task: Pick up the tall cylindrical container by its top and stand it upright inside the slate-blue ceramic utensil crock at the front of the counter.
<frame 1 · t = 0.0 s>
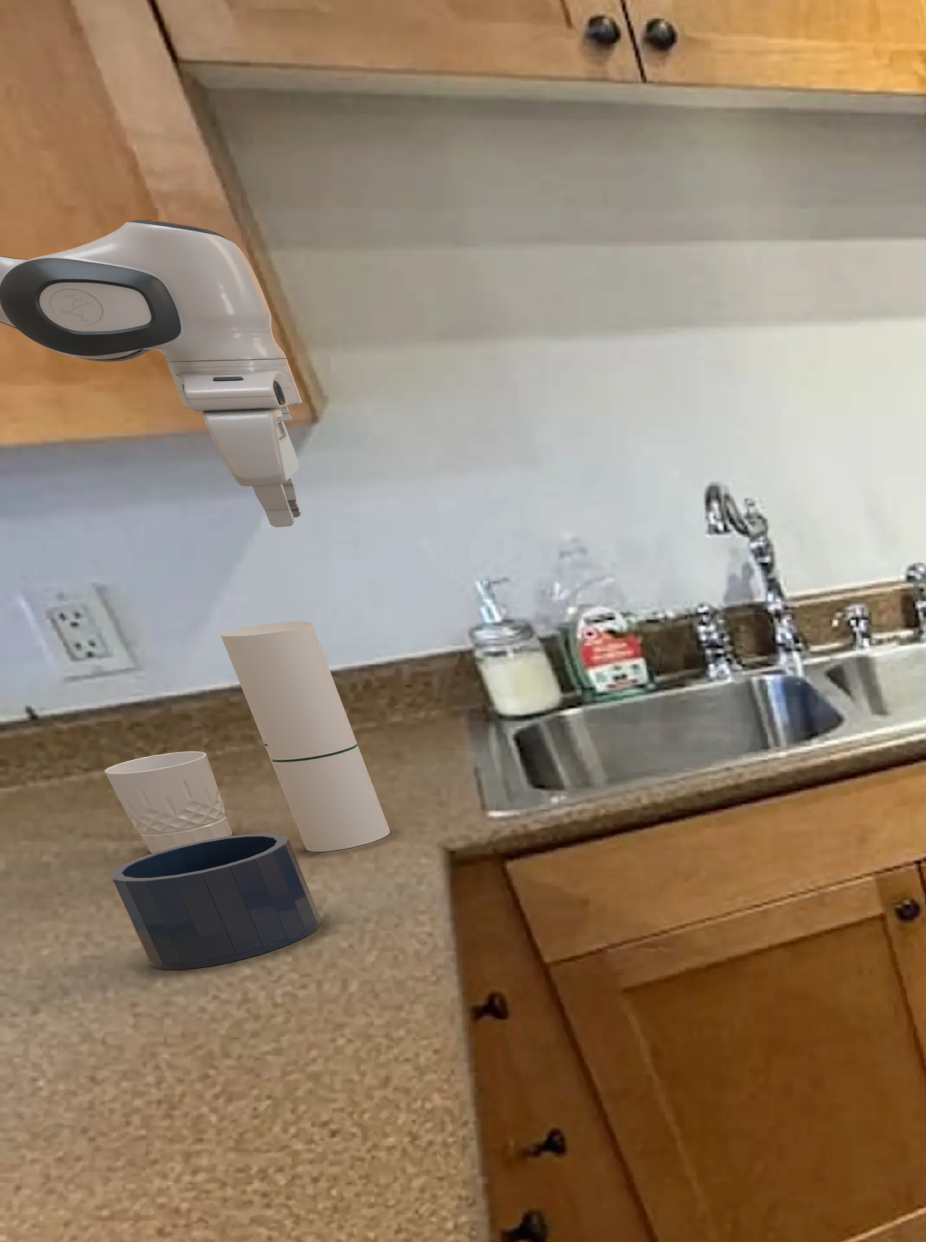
hand: (287, 521, 142), 36 cm above the counter, tool pointing down, fingers open, 8 cm apart
crock: (238, 941, 127), on the counter
white cup: (191, 845, 152), on the counter
cylindrical container: (349, 841, 152), on the counter
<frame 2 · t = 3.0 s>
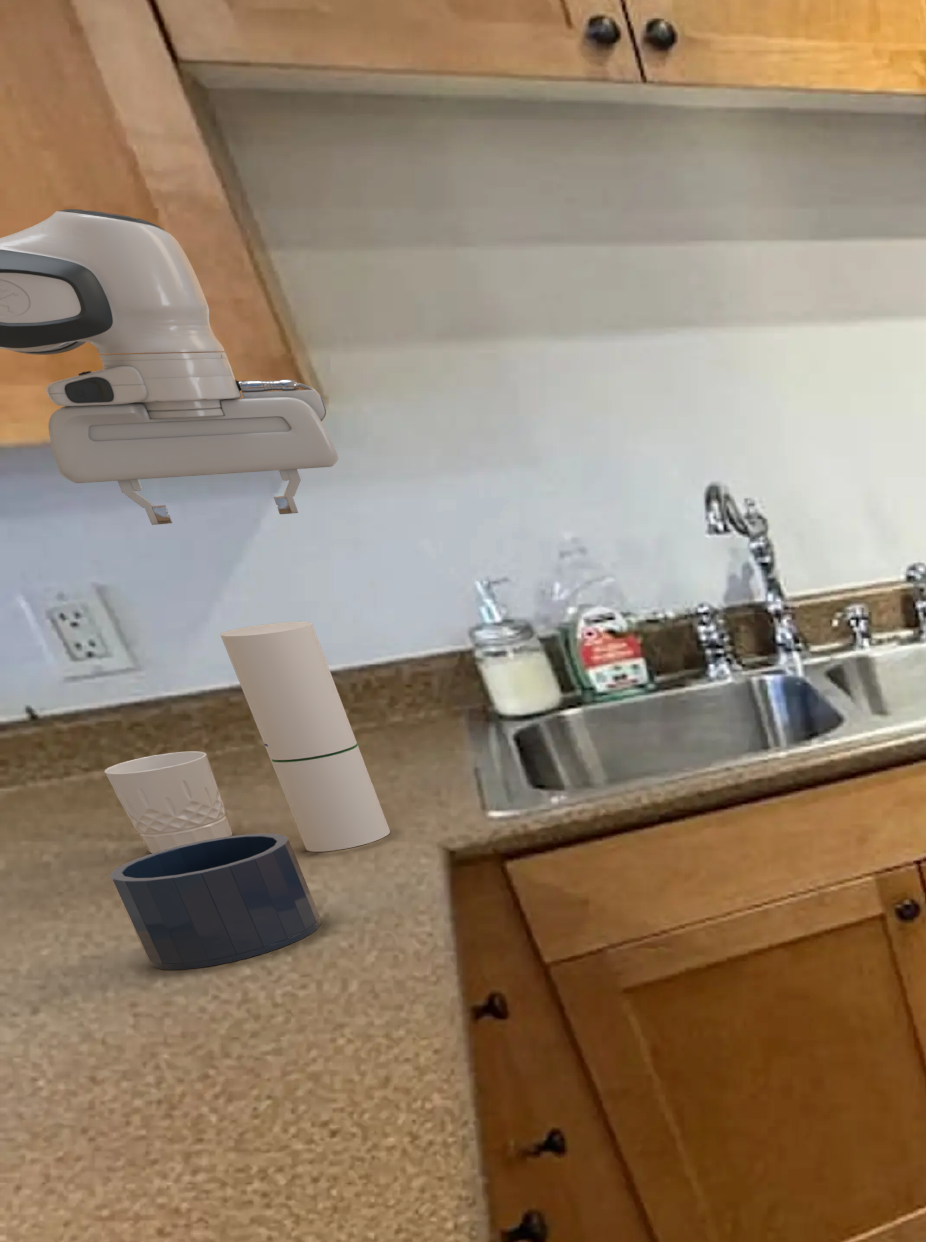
hand: (227, 518, 139), 37 cm above the counter, tool pointing down, fingers open, 8 cm apart
nothing on the counter moved.
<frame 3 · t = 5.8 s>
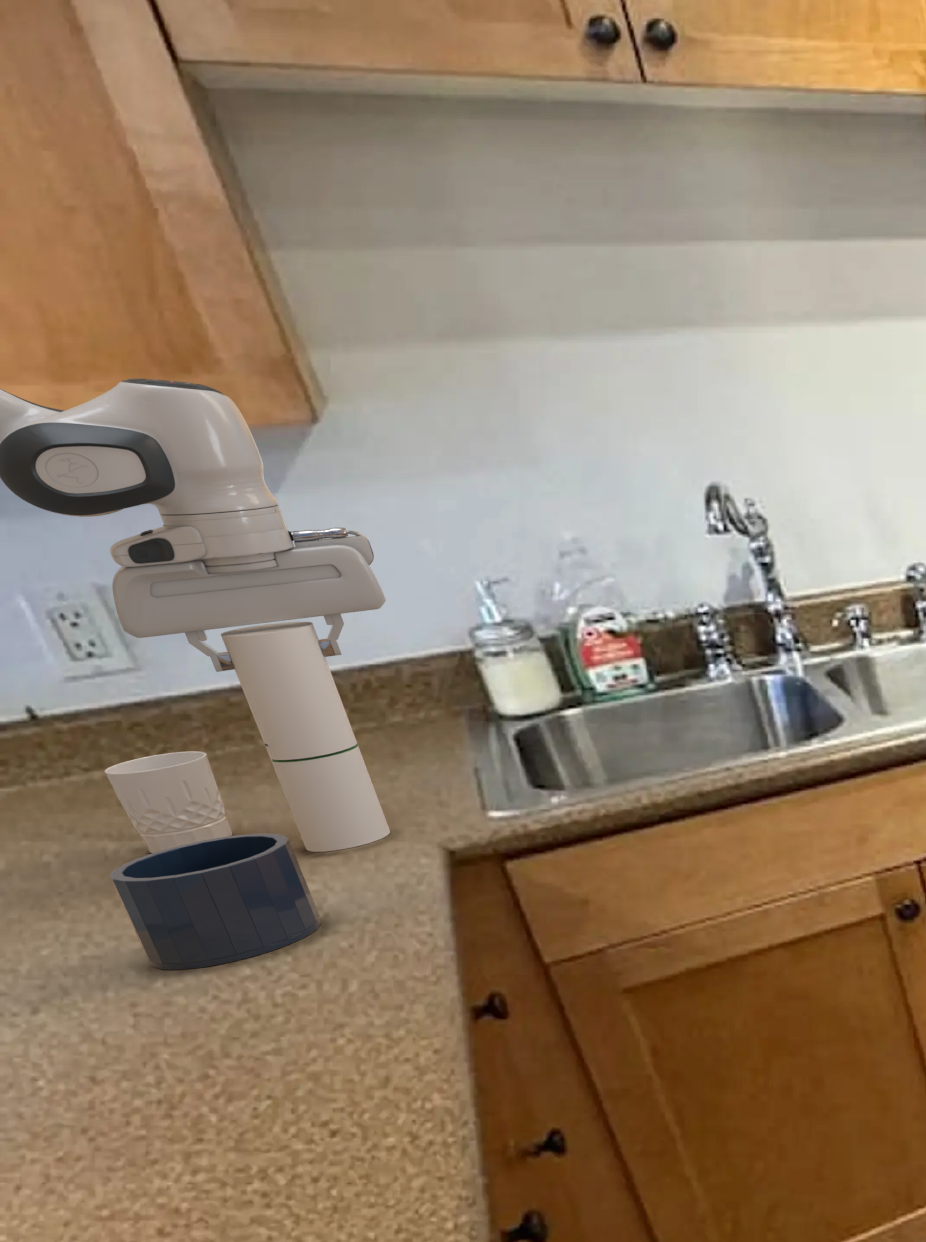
hand: (279, 662, 144), 21 cm above the counter, tool pointing down, fingers closed on cylindrical container, 7 cm apart
cylindrical container: (349, 841, 152), on the counter, touching gripper
everything else where it was.
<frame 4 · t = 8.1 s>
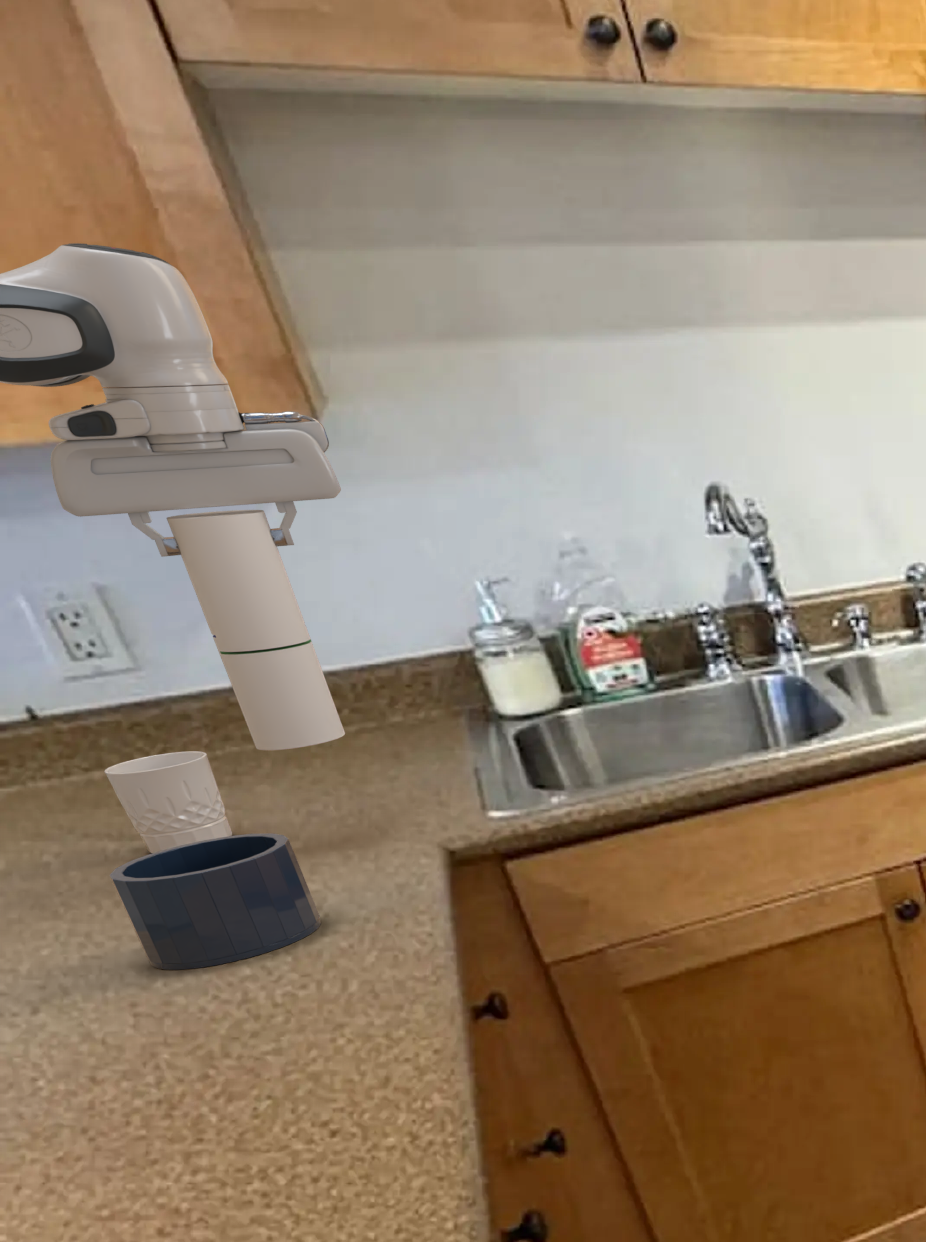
hand: (228, 550, 139), 34 cm above the counter, tool pointing down, fingers closed on cylindrical container, 7 cm apart
cylindrical container: (301, 742, 146), point 12 cm above the counter, touching gripper
everything else where it was.
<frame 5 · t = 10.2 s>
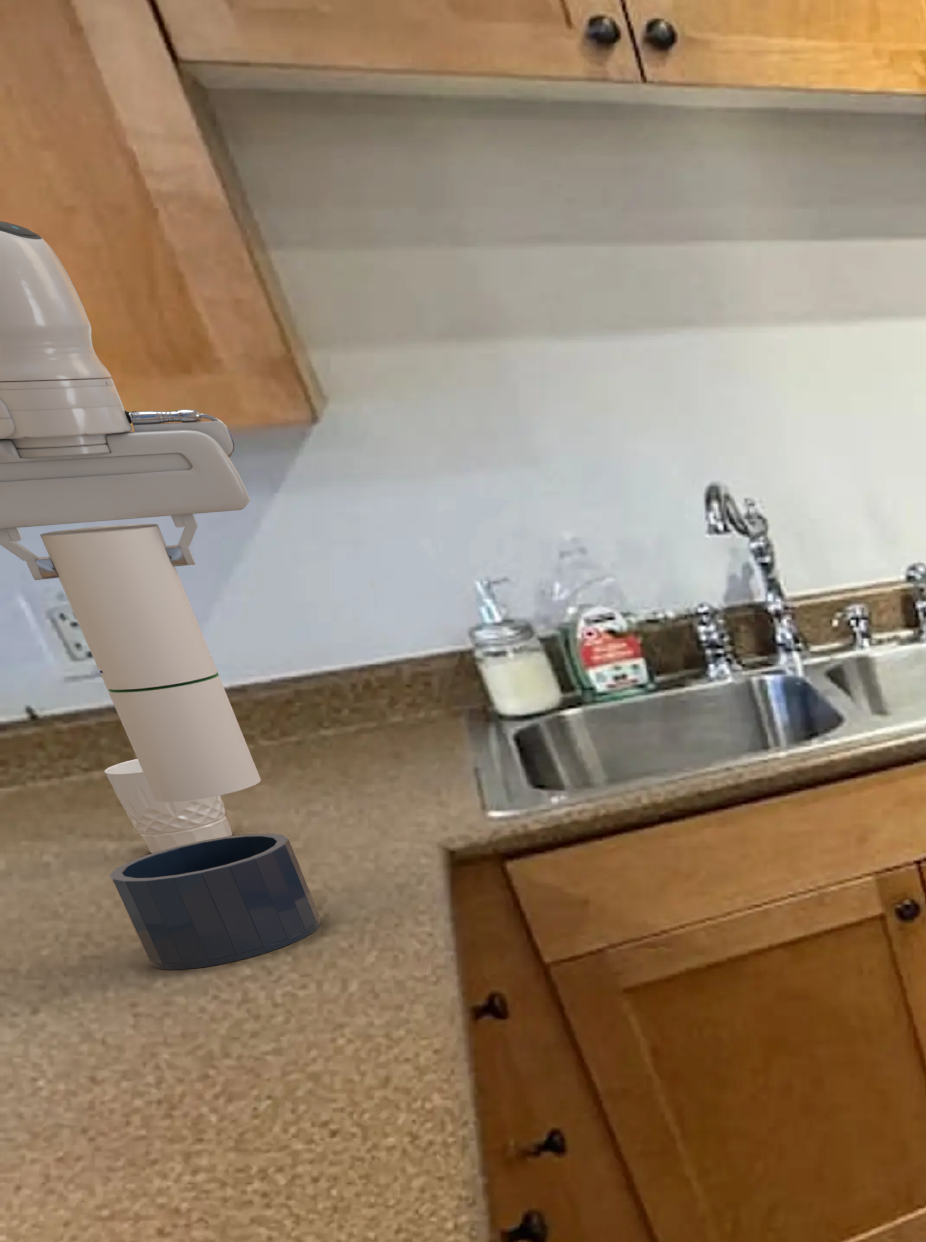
hand: (117, 571, 119), 35 cm above the counter, tool pointing down, fingers closed on cylindrical container, 7 cm apart
cylindrical container: (209, 791, 127), point 14 cm above the counter, touching gripper
everything else where it was.
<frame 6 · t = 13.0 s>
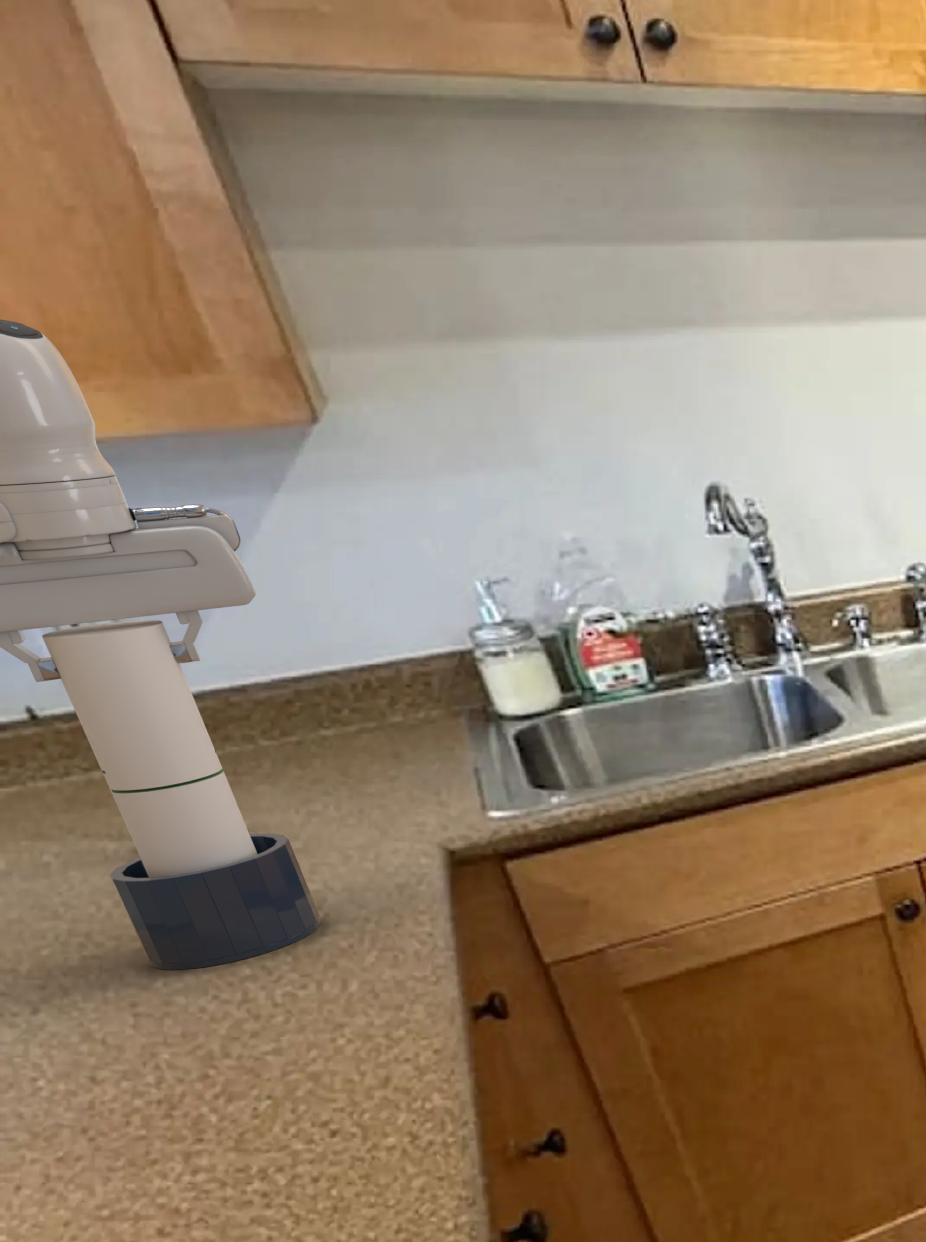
hand: (120, 670, 117), 27 cm above the counter, tool pointing down, fingers closed on cylindrical container, 7 cm apart
cylindrical container: (214, 888, 125), point 6 cm above the counter, touching gripper
everything else where it was.
when the fingers open (22 cm above the counter, at t = 15.1 s): cylindrical container stays where it is, resting on crock.
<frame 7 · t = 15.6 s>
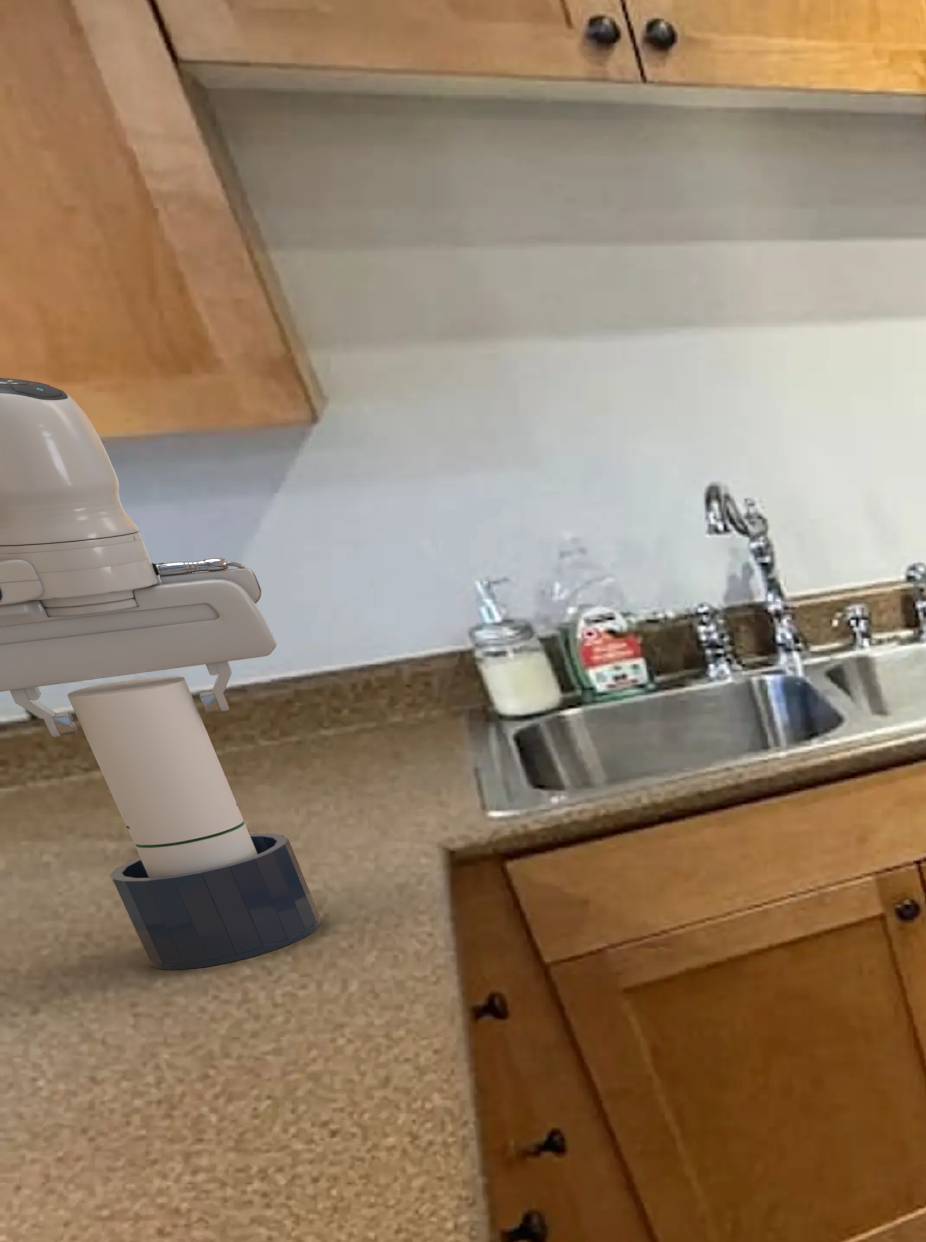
hand: (144, 722, 119), 22 cm above the counter, tool pointing down, fingers open, 8 cm apart
cylindrical container: (235, 938, 126), resting on crock
everything else where it was.
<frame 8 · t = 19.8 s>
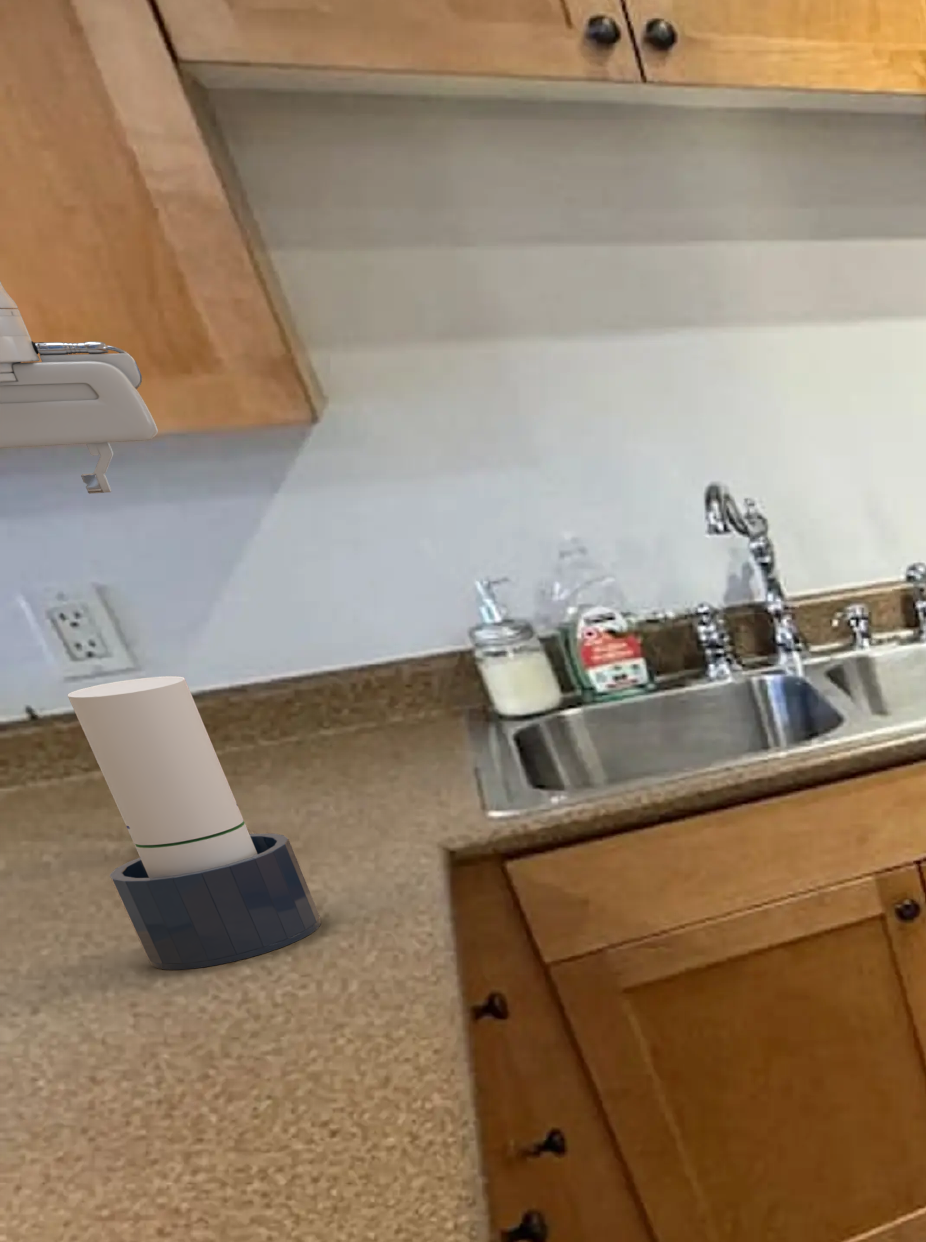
hand: (25, 498, 124), 41 cm above the counter, tool pointing down, fingers open, 8 cm apart
nothing on the counter moved.
at the end: cylindrical container 0.1 cm off-centre in the crock, point 0.4 cm above the crock's base; cylindrical container tilted 0°; the gripper is holding nothing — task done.
